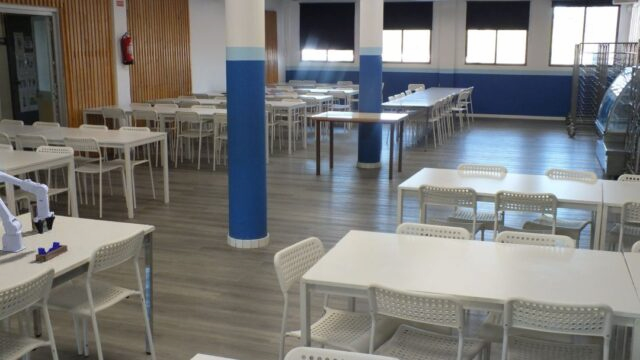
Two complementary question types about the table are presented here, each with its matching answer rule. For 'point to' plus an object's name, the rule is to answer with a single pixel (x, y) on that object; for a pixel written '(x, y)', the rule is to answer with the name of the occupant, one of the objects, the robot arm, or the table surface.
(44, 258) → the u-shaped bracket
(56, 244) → the blue notched arch
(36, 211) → the coffee box
